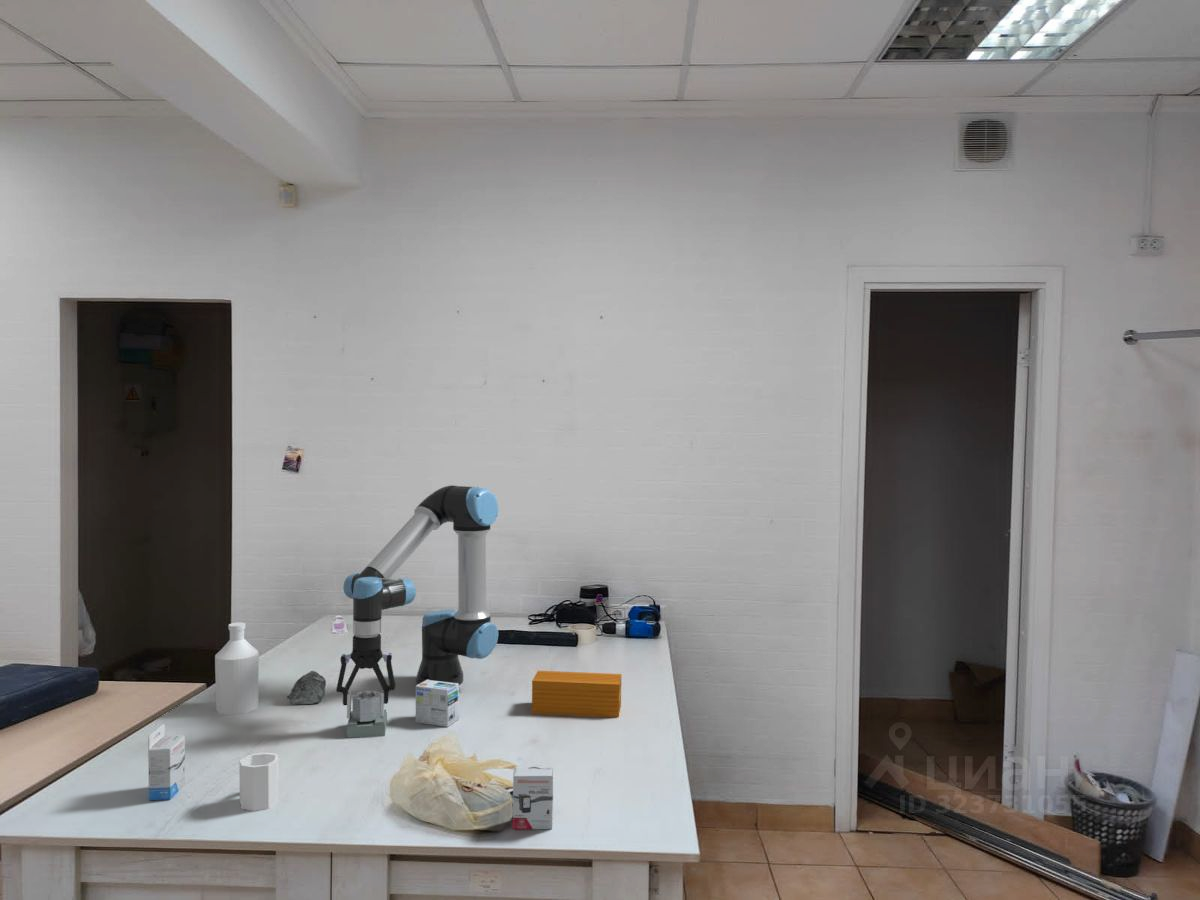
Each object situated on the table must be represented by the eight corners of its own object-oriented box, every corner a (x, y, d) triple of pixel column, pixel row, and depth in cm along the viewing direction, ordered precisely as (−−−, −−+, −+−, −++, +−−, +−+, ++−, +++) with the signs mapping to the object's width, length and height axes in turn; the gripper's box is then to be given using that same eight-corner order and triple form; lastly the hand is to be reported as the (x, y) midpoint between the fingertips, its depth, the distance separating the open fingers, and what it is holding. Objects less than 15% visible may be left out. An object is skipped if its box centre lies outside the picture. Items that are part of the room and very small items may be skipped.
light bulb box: (459, 719, 242) (459, 682, 242) (447, 727, 236) (448, 689, 235) (426, 715, 246) (427, 678, 245) (414, 722, 239) (414, 685, 239)
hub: (381, 711, 237) (381, 690, 237) (379, 720, 230) (380, 699, 230) (354, 712, 236) (354, 691, 236) (351, 722, 229) (351, 700, 228)
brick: (621, 706, 256) (621, 674, 255) (618, 718, 246) (619, 684, 245) (537, 702, 258) (537, 670, 257) (531, 714, 248) (532, 680, 248)
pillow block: (386, 722, 239) (387, 687, 239) (384, 735, 229) (384, 699, 229) (350, 724, 237) (350, 689, 237) (346, 738, 227) (346, 701, 227)
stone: (303, 673, 250) (320, 662, 260) (279, 692, 252) (297, 681, 262) (322, 699, 250) (339, 687, 260) (299, 718, 252) (316, 706, 261)
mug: (272, 811, 185) (272, 767, 185) (232, 811, 185) (232, 767, 185) (290, 787, 197) (290, 745, 197) (252, 787, 197) (252, 745, 197)
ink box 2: (511, 830, 178) (512, 775, 178) (513, 819, 183) (513, 765, 183) (552, 829, 179) (553, 774, 178) (552, 818, 184) (553, 765, 183)
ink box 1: (170, 800, 190) (170, 736, 189) (147, 801, 189) (147, 736, 189) (186, 784, 198) (185, 722, 198) (164, 784, 198) (163, 722, 197)
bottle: (236, 699, 257) (235, 618, 256) (267, 704, 253) (267, 621, 252) (206, 712, 246) (205, 627, 245) (238, 717, 242) (238, 631, 241)
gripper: (406, 630, 238) (405, 709, 239) (328, 631, 234) (327, 712, 235) (405, 636, 231) (404, 718, 231) (325, 638, 226) (324, 722, 227)
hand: (365, 715), depth 233 cm, fingers open, 8 cm apart
